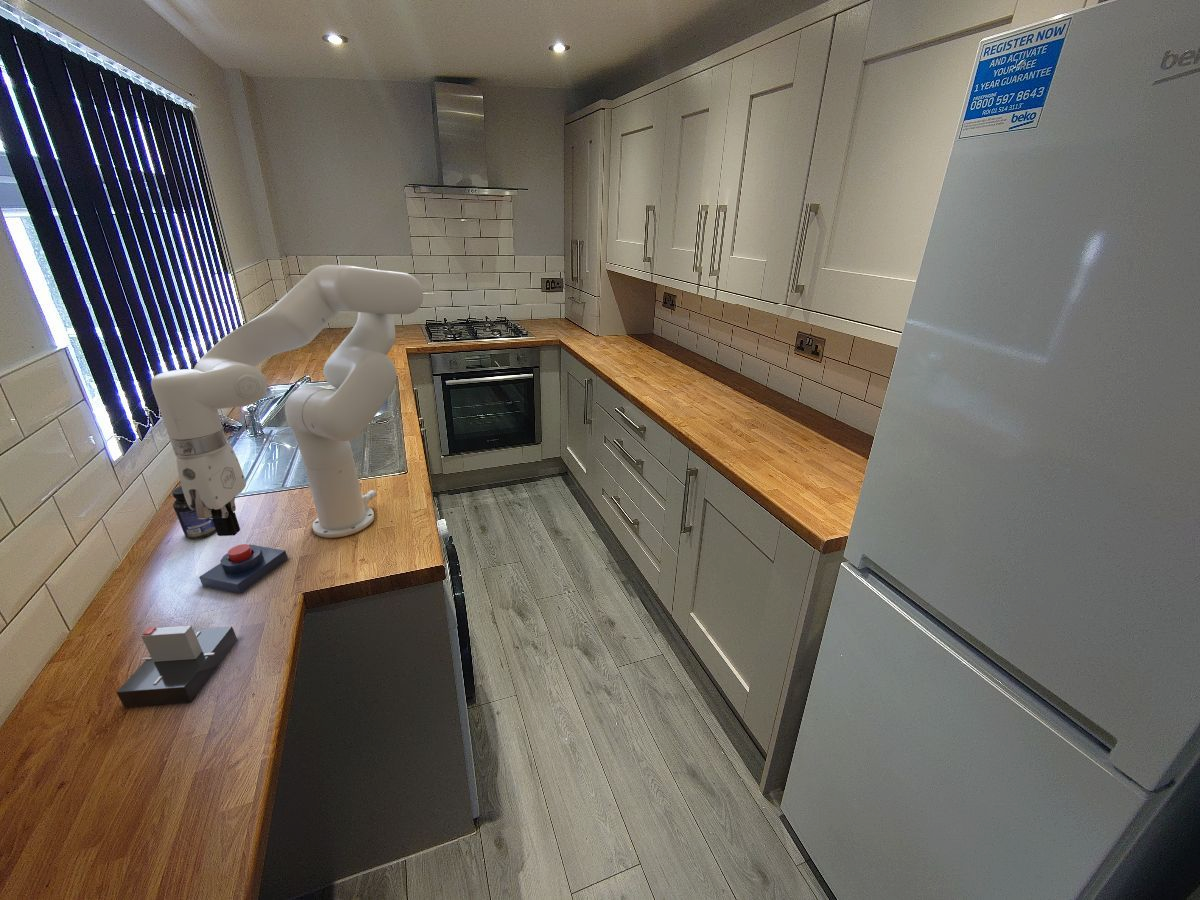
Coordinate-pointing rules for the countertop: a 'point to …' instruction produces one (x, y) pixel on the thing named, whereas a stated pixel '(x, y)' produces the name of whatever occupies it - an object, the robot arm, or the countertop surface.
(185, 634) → the tap lever
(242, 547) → the button
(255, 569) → the button box
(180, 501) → the pill bottle
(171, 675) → the base
